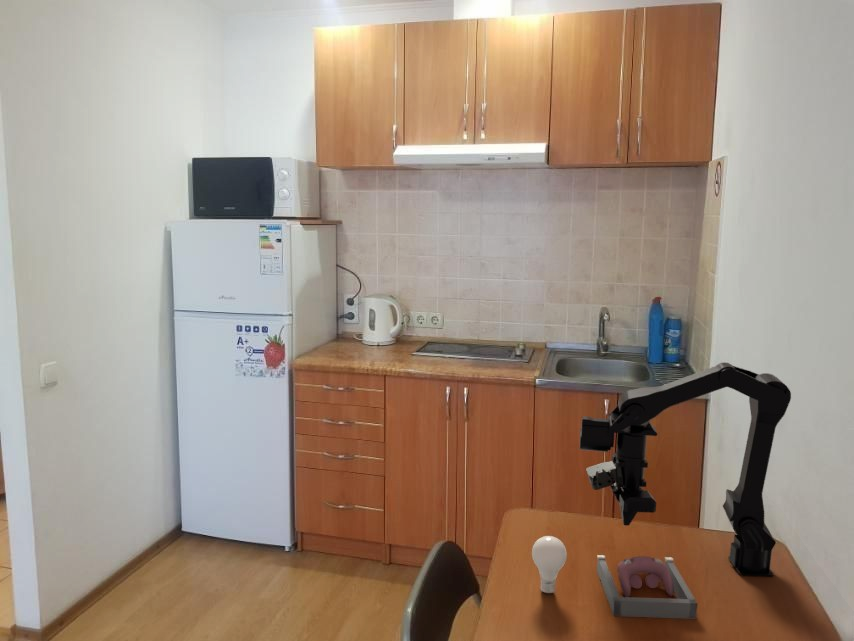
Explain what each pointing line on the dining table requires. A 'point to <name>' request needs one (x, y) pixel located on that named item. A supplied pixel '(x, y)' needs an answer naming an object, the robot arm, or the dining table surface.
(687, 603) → the pocket
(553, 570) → the lightbulb
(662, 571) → the video game controller
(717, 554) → the dining table surface
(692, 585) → the dining table surface
